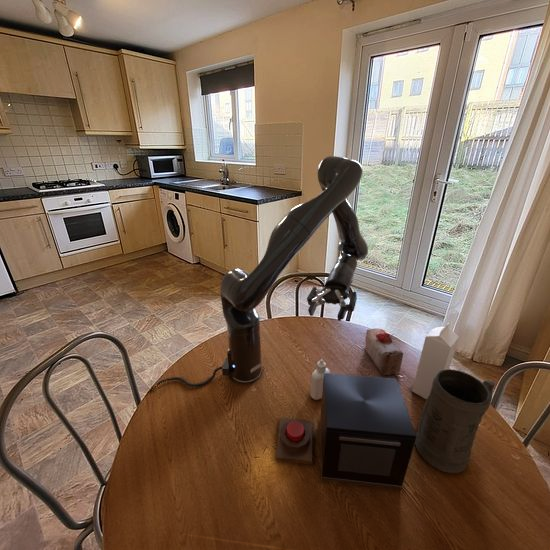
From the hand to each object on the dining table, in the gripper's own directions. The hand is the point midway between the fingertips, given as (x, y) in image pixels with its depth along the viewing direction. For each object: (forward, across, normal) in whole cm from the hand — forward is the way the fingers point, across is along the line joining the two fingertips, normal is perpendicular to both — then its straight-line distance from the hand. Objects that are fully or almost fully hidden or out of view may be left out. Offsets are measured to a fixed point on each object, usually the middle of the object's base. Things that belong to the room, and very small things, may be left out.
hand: (324, 316), depth 84 cm
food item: (-5, +14, +23) cm, 27 cm away
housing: (+31, +1, +10) cm, 33 cm away
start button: (+30, +2, +7) cm, 31 cm away
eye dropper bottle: (+16, +1, +15) cm, 22 cm away
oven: (+28, +15, +12) cm, 34 cm away
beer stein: (+18, +33, +18) cm, 41 cm away
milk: (+3, +28, +22) cm, 35 cm away
